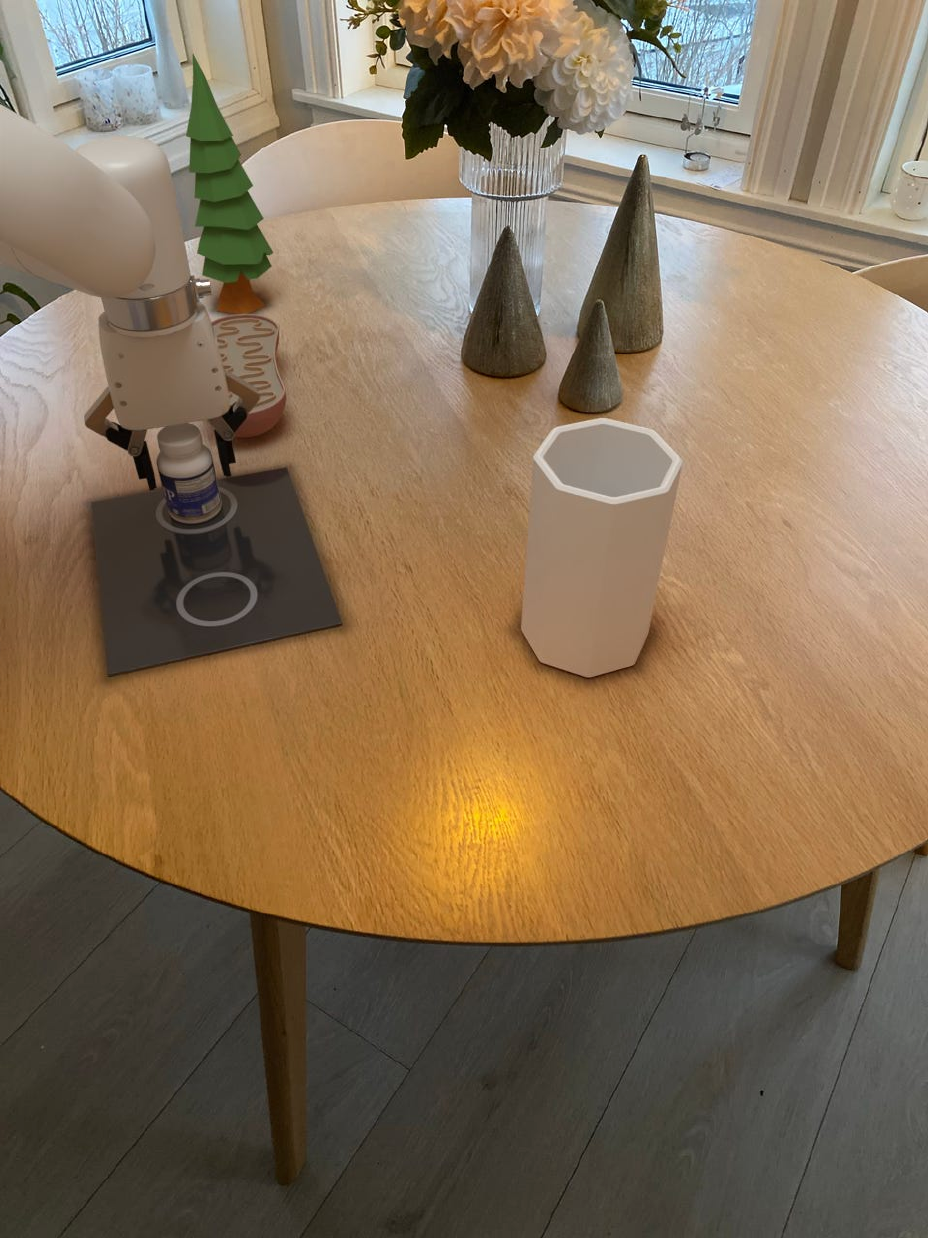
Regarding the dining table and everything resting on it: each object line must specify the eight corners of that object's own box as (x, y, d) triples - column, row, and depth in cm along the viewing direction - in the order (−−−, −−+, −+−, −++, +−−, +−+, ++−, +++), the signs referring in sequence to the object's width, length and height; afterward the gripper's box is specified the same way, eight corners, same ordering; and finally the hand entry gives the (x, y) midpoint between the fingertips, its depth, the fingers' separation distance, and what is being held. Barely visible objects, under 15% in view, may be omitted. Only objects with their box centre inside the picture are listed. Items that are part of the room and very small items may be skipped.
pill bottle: (164, 500, 97) (145, 424, 91) (215, 488, 98) (200, 413, 92) (174, 530, 93) (155, 454, 87) (227, 518, 95) (212, 442, 89)
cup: (520, 588, 88) (532, 414, 76) (641, 591, 88) (673, 417, 75) (521, 677, 80) (535, 499, 68) (654, 681, 80) (693, 503, 67)
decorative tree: (212, 290, 132) (168, 42, 111) (281, 287, 133) (250, 41, 112) (206, 323, 125) (158, 65, 104) (279, 320, 126) (245, 64, 105)
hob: (108, 676, 80) (107, 673, 80) (91, 504, 97) (90, 500, 97) (342, 625, 85) (342, 621, 84) (287, 469, 102) (286, 465, 101)
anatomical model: (293, 449, 104) (287, 409, 101) (200, 458, 103) (191, 418, 100) (282, 348, 121) (277, 310, 117) (201, 354, 119) (194, 316, 116)
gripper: (245, 269, 85) (270, 440, 98) (40, 295, 81) (94, 470, 94) (259, 305, 80) (285, 481, 93) (42, 335, 76) (99, 515, 89)
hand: (188, 474), depth 93 cm, fingers open, 6 cm apart
